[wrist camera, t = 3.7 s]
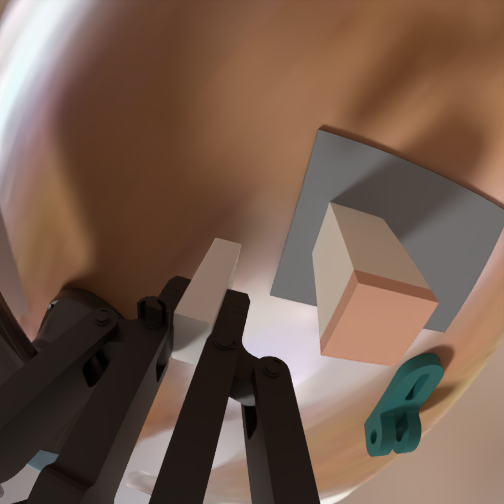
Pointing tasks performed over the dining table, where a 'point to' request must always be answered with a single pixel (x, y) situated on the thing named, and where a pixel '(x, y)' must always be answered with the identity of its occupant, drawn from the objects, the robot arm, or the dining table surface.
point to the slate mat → (392, 221)
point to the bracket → (402, 407)
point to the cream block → (367, 289)
